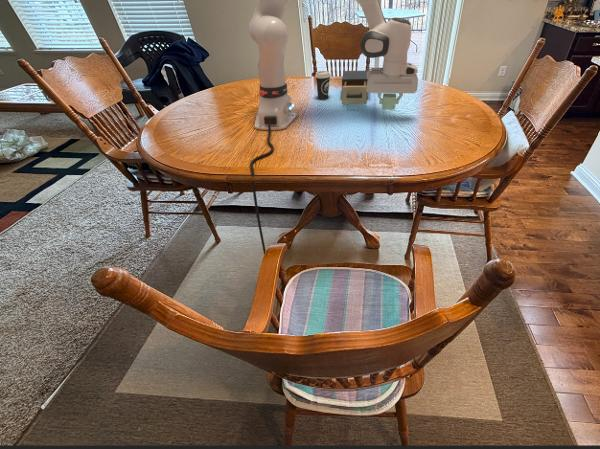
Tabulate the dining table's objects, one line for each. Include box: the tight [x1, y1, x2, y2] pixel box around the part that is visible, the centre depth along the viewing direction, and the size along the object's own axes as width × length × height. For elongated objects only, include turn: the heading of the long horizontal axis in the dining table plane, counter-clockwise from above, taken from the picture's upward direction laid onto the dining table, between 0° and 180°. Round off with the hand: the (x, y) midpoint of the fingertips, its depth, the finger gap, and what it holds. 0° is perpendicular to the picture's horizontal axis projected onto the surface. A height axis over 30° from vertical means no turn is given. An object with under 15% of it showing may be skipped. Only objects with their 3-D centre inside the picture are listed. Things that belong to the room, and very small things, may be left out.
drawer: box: [341, 81, 368, 105], centre depth 145 cm, size 18×12×8 cm, turn 171°
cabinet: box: [340, 70, 369, 101], centre depth 154 cm, size 15×13×10 cm
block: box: [381, 93, 397, 111], centre depth 127 cm, size 5×5×5 cm
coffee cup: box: [314, 70, 331, 100], centre depth 152 cm, size 8×8×12 cm
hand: (388, 103), depth 128 cm, fingers closed on block, 5 cm apart
